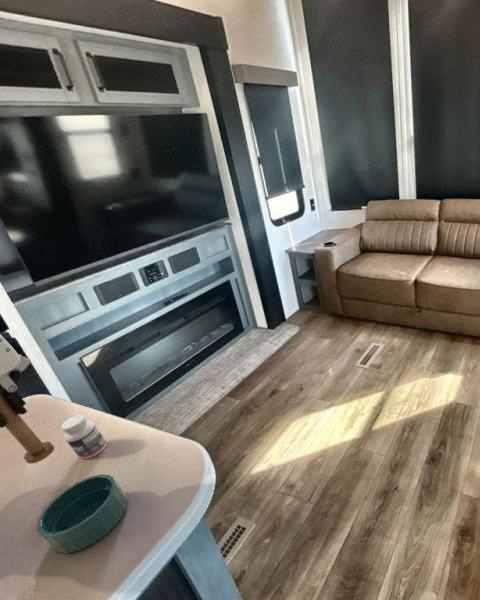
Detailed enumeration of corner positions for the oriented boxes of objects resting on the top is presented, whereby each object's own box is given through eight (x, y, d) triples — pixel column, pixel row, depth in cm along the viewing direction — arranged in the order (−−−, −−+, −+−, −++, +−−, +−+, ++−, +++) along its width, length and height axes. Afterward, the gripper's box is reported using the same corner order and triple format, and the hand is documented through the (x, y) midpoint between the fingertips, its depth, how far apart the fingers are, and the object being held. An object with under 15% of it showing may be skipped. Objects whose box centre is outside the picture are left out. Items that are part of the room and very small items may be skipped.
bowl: (39, 545, 64) (21, 526, 61) (103, 486, 73) (89, 468, 70) (82, 563, 60) (64, 544, 57) (143, 499, 69) (129, 481, 67)
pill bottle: (73, 457, 81) (51, 428, 77) (97, 438, 85) (77, 410, 81) (89, 461, 79) (67, 433, 75) (112, 442, 83) (92, 414, 79)
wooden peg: (22, 461, 60) (-36, 398, 54) (46, 444, 63) (-6, 382, 57) (35, 465, 59) (-22, 401, 52) (59, 447, 62) (8, 384, 55)
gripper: (-18, 290, 56) (50, 382, 65) (-185, 352, 43) (-72, 456, 52) (11, 292, 54) (77, 387, 62) (-156, 358, 41) (-43, 466, 49)
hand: (9, 417), depth 57 cm, fingers closed on wooden peg, 2 cm apart
